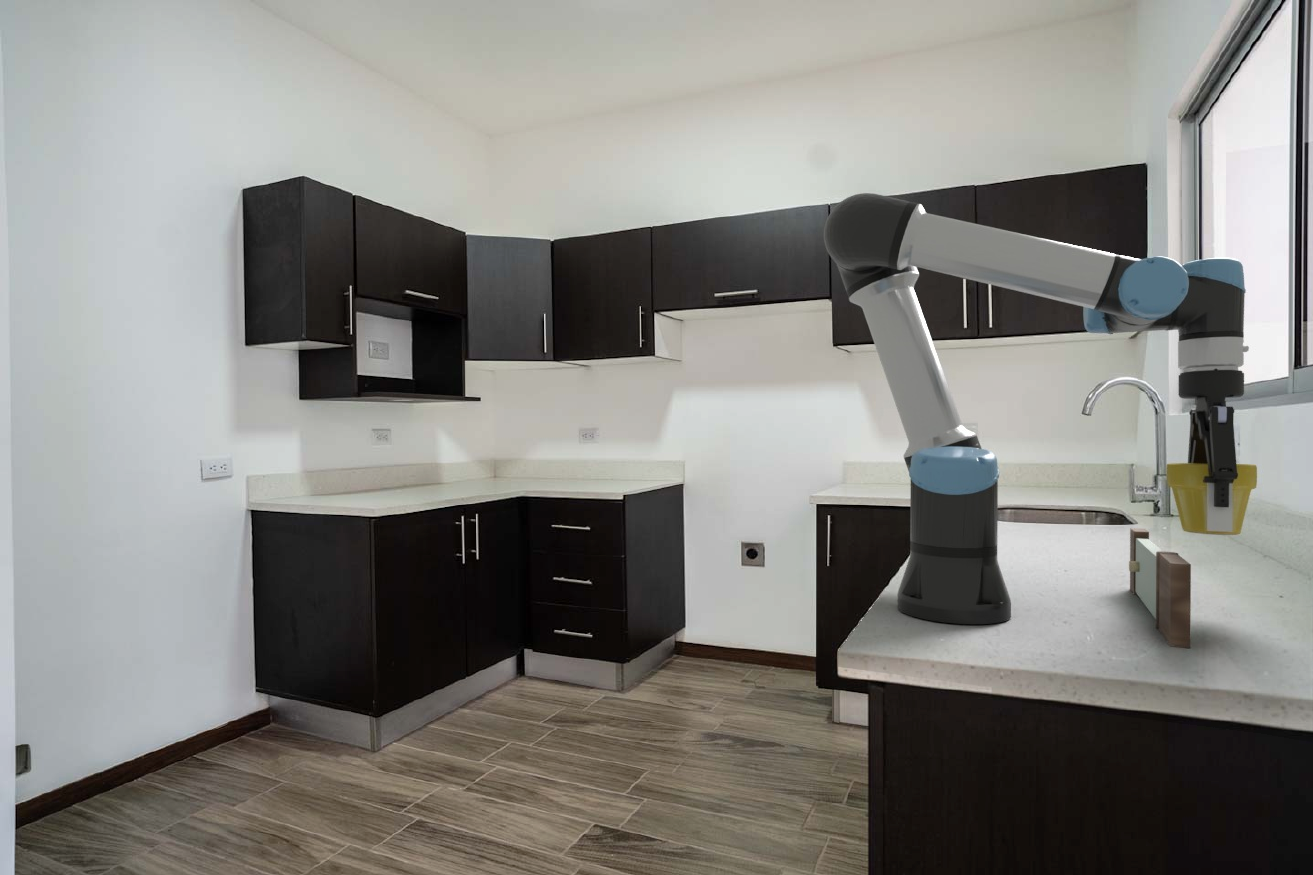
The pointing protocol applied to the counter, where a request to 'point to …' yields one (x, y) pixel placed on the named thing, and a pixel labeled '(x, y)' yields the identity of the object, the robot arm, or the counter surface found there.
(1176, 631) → the door frame
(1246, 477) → the plant pot
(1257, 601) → the counter surface
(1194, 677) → the counter surface
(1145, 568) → the door leaf
